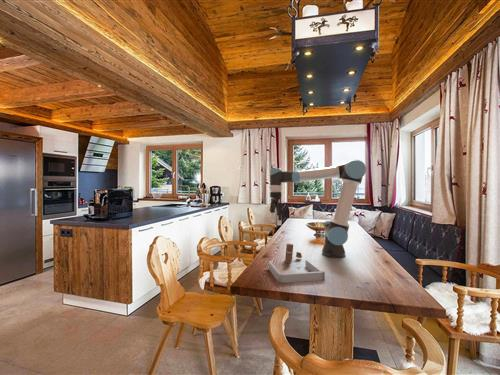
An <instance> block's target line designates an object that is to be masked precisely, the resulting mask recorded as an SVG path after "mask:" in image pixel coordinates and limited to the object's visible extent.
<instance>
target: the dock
mask: <svg viewBox="0 0 500 375" xmlns="http://www.w3.org/2000/svg"><path fill="white" fill-rule="evenodd" d="M305 268H307V270H309V272H307V271H304V272H290V273H281V271H280V270H278V268H277V266H276V265H274V264H273V262H272V261H268V270H269V271H270V273H271V274H272V276H273V277H274V279H275V280H276V281H277V283H278V284H286V283H287V284H288V283H301V282H316V281H325V280H326V279H325V278H326V272H325V271H324V270H323V269H321V268H320V267H318V266H317V265H316V264H315V263H313V262H312V261H311V260H309V259H305Z"/></svg>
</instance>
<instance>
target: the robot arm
mask: <svg viewBox="0 0 500 375" xmlns="http://www.w3.org/2000/svg"><path fill="white" fill-rule="evenodd" d="M366 173H367V166H366V164H365V163H364V161H362V160H360V159H351V160H349V161H347V162H345V163H342V164H336V165H335V166H329V167H321V168H313V169H307V170H305V169H303V170H285V171H284V170H282V168H280V167H278V168H277V167H275V168H274V167H273V168H270V170H269V184H270V185H269V189H270V190H269V191H270V192H269V197H270V198H271V199H270V206H269V212H270V223H275V222H276V223H277V224H276V226H283V224H282V216H283V215H284V213H283V212H284V210H283V206H282V199H280V198H282V193H283V192H282V189H283V188H282V183H283V184H284V183H289V184H296V183H300V182H310V181H318V180H327V179H338V180H340V179H341V180H342V186H341V189H340V193H339V196H338V200H337V204H336V209H335V211H334V215H333V218H332V219H331V220H326V221H325V222H324V244H323V246H322V247H323V248H322V249H321V254H322V255H323V256H325V257H329V258H343V257H345V256H346V251H345V248H344V244H345V243H346V242H347V241H348V240H349V228H350V224H349V223H348V222H349V219H350V214H351V211H352V206H353V203H354V201H355V197H356V192H357V188H358V186H359V185H361V183H362V181H363V177H364V176H365V175H366ZM275 210H276V211H275ZM276 217H277V218H276Z"/></svg>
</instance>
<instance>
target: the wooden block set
mask: <svg viewBox="0 0 500 375" xmlns="http://www.w3.org/2000/svg"><path fill="white" fill-rule="evenodd" d="M293 252H294V244H292V243H286V247H285V259H284V261H285V262H284V263H285V264H289V265H290V264H291V263H292V261H293V254H294V253H293ZM295 257H296V258H297V259H302V258H303V256H302V252H299V251H296V254H295Z"/></svg>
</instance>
